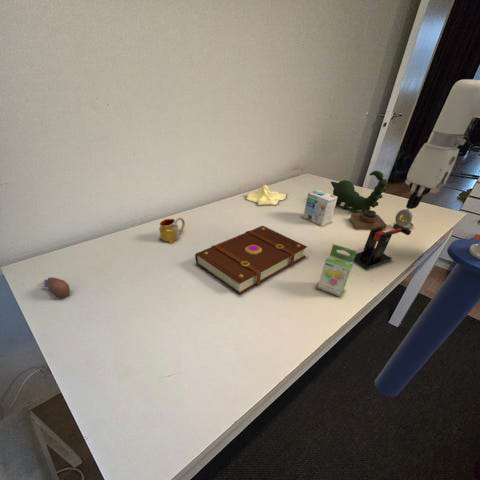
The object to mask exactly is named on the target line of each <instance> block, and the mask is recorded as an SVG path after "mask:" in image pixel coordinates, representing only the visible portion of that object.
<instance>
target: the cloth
mask: <svg viewBox="0 0 480 480" xmlns="http://www.w3.org/2000/svg"><path fill="white" fill-rule="evenodd" d="M286 197H287V194H286V193H281V192H278V191H275V190H270V188H269V187H268V185H267V184H263V185H261V188H260V189H259V190H258V191H255V190H253V191H249V192H248V193H247V195H246V198H245V200H248V201H250V202H253V203H257V205H258V206H266V205H267V206H269V205H271V206H272V205H274V206H276V205H278V203H279V201H284V200H285V199H286Z"/></svg>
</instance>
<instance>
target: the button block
mask: <svg viewBox="0 0 480 480" xmlns="http://www.w3.org/2000/svg"><path fill="white" fill-rule="evenodd" d="M365 213H366V212H363V213H362V212H361V214H359V213H351V214H350V216H349V221H350V222H351V224H352V225H353V227H354V228H355V229H356V230H367V231H368V230H369V231H371V229H374V228H377V227H382V228H383V229H382V231H385V230H386V228H387V223H386V222H385V221H384V220H383V219H382V217H381V216H380V215H379V214H377V213H376V215H375V217H374V218H370V217H366V216H365Z"/></svg>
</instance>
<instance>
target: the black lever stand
mask: <svg viewBox="0 0 480 480" xmlns="http://www.w3.org/2000/svg"><path fill="white" fill-rule="evenodd" d="M382 229H383V228H382V227H377V228H374V229H371V230H369V231H370V232H369V234H368V237H367V239H366V242H365V245H364V247H363V250H362V251H361V252H357V253H356V256H355V258H354V261H353V263H355V264H357V265H358V266H360V267H361V268H363V269H365V270H367V271H368V270H370V269H373V268H376V267H379V266H381V265H384V264H387V263H389V262H391V261H392V259H393V258H392V257H391V256H389V255H388V254H385V251H386V249H387V247H388V244H389V242H390V241H391V238H392V236H393V235H394V234H393V233H392V232H388V231H387V232H388V233H384V234H381V236H380V238H379V241H376V240H374V239H373V238H374V235H375V233H376V232H378V231H383V230H382Z"/></svg>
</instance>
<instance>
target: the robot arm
mask: <svg viewBox="0 0 480 480" xmlns="http://www.w3.org/2000/svg"><path fill="white" fill-rule="evenodd" d="M473 118H478V119H480V79H468V78H466V79H464V78H463V79H460V80H458V81H456V82H455V83H454V84H453V85H452V87H451V89H450V91H449V94H448V96H447V98H446V100H445V102H444V105H443V107H442V109H441V111H440V114H439V116H438V118H437V120H436V122H435V123H434V126H433V129H432V131H431V133H430V135H429V137H428V140H427V142H425V143H424V144H423V145H422V146H421V148H420V150H419V151H418V152H417V155H416V156H415V158H414V159H413V162H412V164H411V165H410V168H409V169H408V172H407V176H406V179H405V181H404V183H405V184H406V185H407V186H409V190H410V191H409V192H410V196H409V197H408V200H407V203H406V205H407V206H406V205H405V208H406V209H408V208H409V210H412V209H416V208H417V207H418V206H419V205H420V203H421V201H422V199H423V197H424V196H426V195H428V194H438V193H439V192H440V190H441V187H444V186H445V184H446V183H447V181H448V179H449V177H450V174H451V173H452V171H453V168H454V166H455V164H456V161H457V158H458V156H459V152H460V148H458V147H459V146H464V145H465V143H466V141H467V139H465V138H464V137H465V135H464V134H465V133H466V131H467V129H468V127H469V125H470V124H471V123H472V120H473ZM469 252H470V253H471V254H472V255H473V256H474V257H476V258H478V259H480V242H479V244H474V245H472V246H470V248H469Z"/></svg>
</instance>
